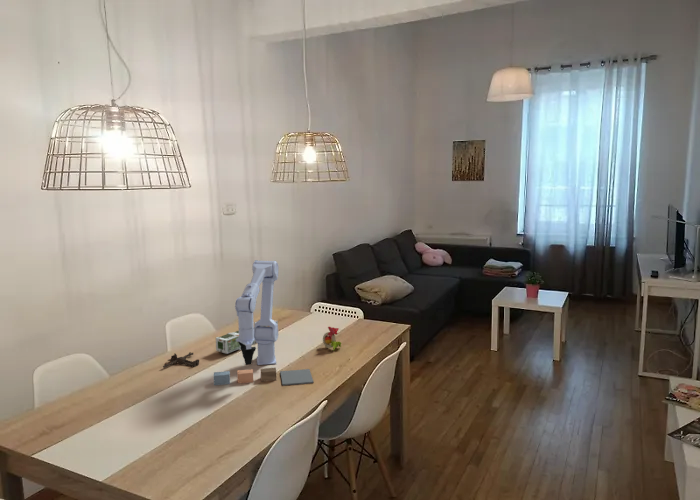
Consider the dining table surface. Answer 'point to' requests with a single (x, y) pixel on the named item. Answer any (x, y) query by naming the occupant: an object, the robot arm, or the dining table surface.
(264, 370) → the walnut brick
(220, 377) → the slate blue brick
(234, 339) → the green white framed bar
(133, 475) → the dining table surface
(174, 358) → the dark action figure
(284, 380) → the grey flat square slab
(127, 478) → the dining table surface
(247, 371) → the terracotta brick
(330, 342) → the bird rattle
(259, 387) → the dining table surface
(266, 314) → the robot arm
